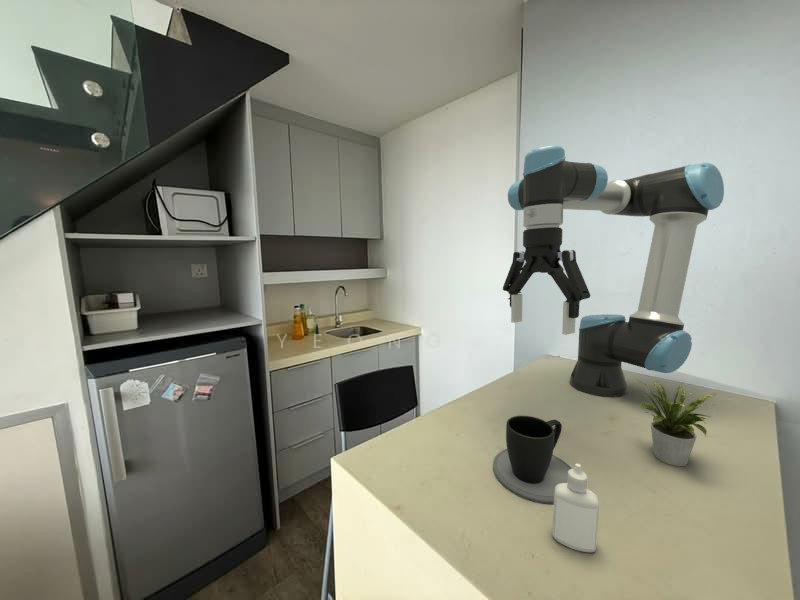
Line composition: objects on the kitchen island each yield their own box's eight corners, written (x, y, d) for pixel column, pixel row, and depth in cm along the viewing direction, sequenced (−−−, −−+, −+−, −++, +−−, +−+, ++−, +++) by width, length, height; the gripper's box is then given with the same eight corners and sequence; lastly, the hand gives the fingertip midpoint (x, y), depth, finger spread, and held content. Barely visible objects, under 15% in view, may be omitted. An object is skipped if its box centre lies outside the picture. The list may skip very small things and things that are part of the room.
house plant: (610, 453, 67) (616, 379, 65) (630, 430, 76) (636, 364, 73) (703, 491, 56) (714, 403, 54) (714, 458, 65) (724, 382, 63)
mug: (577, 475, 59) (580, 427, 58) (528, 495, 54) (530, 443, 53) (541, 451, 67) (543, 408, 65) (495, 466, 62) (497, 420, 61)
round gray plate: (532, 443, 71) (532, 440, 71) (598, 487, 57) (598, 483, 57) (477, 462, 65) (477, 457, 65) (535, 515, 51) (536, 510, 51)
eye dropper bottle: (585, 563, 43) (591, 482, 42) (546, 534, 48) (550, 460, 46) (601, 547, 46) (607, 469, 44) (562, 520, 50) (566, 450, 49)
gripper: (487, 232, 76) (488, 319, 79) (588, 221, 54) (583, 343, 57) (511, 232, 79) (510, 316, 82) (615, 221, 57) (609, 336, 60)
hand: (540, 327), depth 69 cm, fingers open, 13 cm apart
